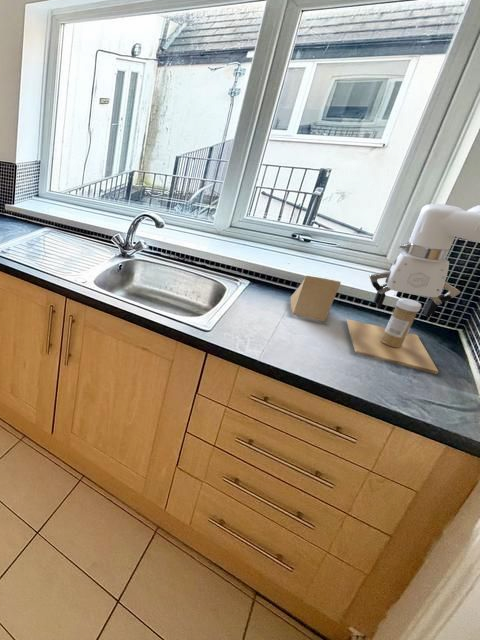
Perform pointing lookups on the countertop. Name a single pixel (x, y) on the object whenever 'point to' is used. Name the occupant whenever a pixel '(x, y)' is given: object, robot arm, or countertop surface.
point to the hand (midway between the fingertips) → (401, 310)
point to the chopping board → (389, 347)
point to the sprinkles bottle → (400, 322)
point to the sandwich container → (314, 297)
